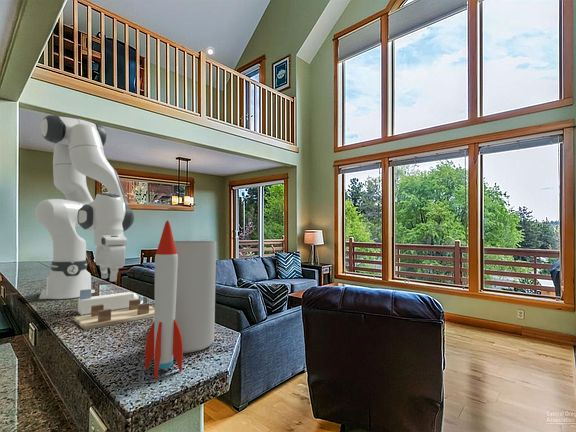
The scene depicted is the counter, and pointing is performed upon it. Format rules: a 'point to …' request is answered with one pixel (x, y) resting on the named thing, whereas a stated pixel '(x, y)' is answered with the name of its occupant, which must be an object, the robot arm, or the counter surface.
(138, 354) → the counter surface
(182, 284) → the cylinder vase
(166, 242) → the toy rocket
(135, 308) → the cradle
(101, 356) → the counter surface
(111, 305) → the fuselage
